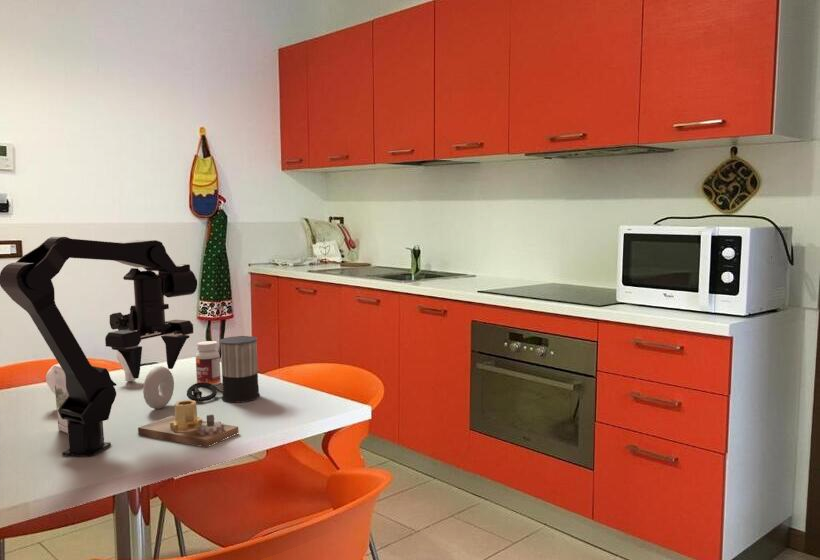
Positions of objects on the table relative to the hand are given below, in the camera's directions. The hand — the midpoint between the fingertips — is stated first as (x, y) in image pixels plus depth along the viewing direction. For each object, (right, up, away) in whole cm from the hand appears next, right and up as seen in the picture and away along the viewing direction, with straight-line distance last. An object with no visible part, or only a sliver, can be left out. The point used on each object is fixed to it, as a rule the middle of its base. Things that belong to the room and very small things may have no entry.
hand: (153, 373), depth 144 cm
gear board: (+8, -12, -3) cm, 15 cm away
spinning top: (-29, -11, +20) cm, 37 cm away
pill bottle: (0, -9, +39) cm, 40 cm away
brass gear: (+8, -11, -3) cm, 14 cm away
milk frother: (+8, -10, +24) cm, 27 cm away
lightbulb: (-23, -9, +43) cm, 50 cm away
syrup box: (-17, -13, +1) cm, 21 cm away
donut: (-5, -11, +17) cm, 21 cm away
